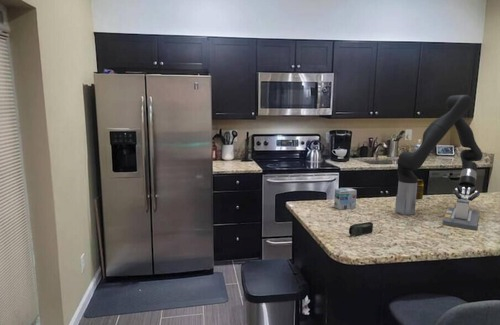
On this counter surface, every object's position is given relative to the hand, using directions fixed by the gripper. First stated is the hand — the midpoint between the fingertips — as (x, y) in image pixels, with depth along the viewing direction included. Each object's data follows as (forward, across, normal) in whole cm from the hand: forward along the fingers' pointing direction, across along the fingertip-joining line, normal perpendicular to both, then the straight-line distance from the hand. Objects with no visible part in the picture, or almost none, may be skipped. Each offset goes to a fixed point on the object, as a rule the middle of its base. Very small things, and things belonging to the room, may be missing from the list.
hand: (463, 206), depth 180 cm
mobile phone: (+44, -36, -36) cm, 67 cm away
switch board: (+8, 0, 0) cm, 8 cm away
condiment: (-14, -27, +24) cm, 39 cm away
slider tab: (+9, 0, -4) cm, 10 cm away
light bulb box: (+18, -57, -10) cm, 60 cm away
